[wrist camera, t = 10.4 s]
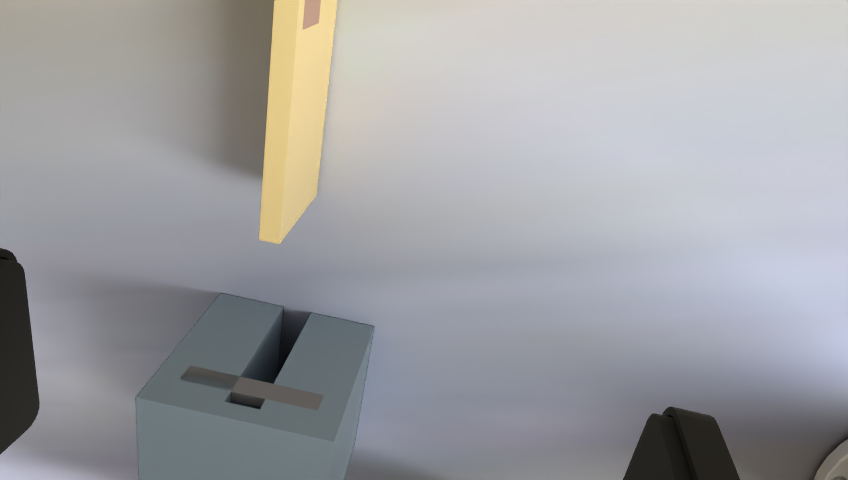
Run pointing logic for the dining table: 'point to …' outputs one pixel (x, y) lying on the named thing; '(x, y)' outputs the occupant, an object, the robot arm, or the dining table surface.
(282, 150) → the tall yellow upright plank
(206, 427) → the dispenser
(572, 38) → the dining table surface
